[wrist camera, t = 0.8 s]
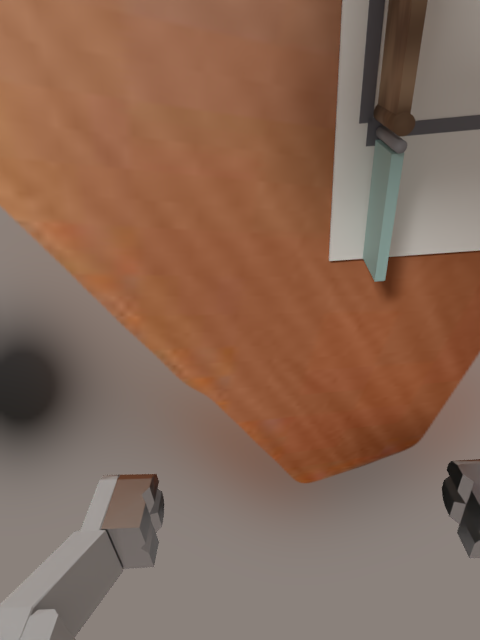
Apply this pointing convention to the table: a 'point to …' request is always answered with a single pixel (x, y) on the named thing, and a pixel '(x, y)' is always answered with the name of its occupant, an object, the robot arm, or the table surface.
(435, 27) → the card
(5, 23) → the table surface
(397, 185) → the gate panel
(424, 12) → the fence
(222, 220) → the table surface
